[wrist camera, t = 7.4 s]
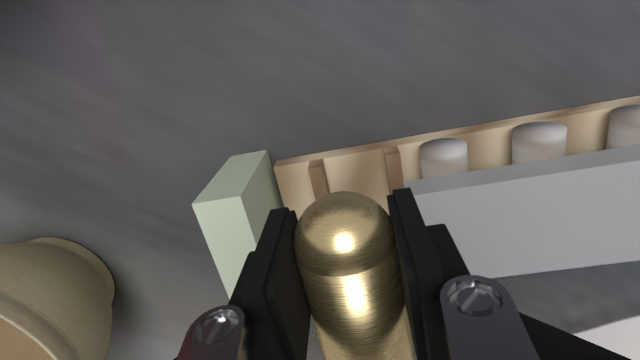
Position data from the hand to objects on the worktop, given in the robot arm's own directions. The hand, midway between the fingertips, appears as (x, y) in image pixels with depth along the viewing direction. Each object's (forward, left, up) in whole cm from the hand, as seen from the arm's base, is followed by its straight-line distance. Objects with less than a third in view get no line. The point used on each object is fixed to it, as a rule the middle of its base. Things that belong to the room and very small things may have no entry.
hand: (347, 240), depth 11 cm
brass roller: (0, +7, -1) cm, 8 cm away
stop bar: (+8, +7, -16) cm, 20 cm away
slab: (-11, +7, -12) cm, 18 cm away
